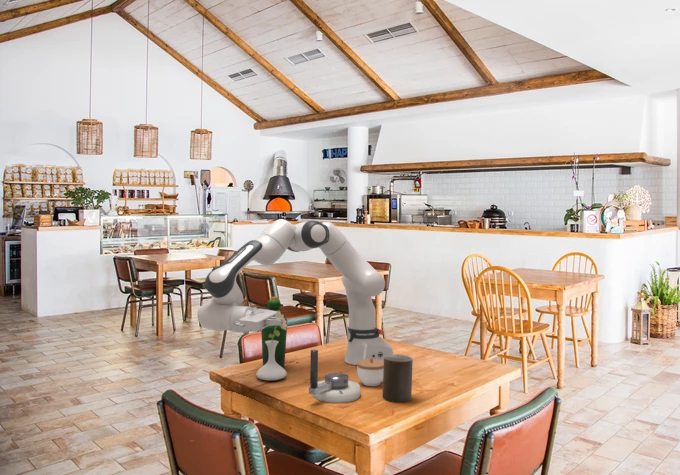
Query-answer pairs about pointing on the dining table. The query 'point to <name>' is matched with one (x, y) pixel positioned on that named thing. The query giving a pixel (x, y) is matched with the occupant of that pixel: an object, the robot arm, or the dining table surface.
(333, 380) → the saucepan with upright handle
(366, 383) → the lidded jar
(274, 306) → the bottle
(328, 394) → the light grey round disc
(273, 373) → the flower in vase
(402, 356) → the pillar candle
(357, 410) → the dining table surface
